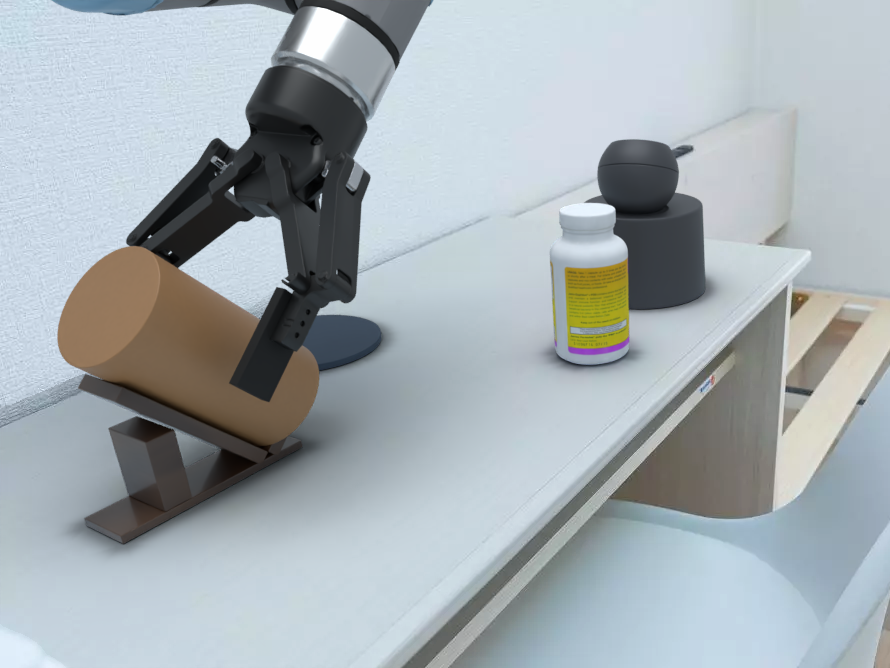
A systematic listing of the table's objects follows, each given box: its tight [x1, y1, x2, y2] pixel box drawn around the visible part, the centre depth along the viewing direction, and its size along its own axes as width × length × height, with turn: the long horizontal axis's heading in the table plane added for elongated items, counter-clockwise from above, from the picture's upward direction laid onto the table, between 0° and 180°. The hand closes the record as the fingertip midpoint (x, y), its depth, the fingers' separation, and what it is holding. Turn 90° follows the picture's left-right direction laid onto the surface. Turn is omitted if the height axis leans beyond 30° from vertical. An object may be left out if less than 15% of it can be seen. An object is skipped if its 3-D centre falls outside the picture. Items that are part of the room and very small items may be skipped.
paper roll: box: [56, 245, 320, 447], centre depth 58 cm, size 8×16×16 cm, turn 148°
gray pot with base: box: [583, 138, 707, 310], centre depth 92 cm, size 13×16×14 cm
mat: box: [302, 314, 383, 371], centre depth 83 cm, size 13×13×1 cm
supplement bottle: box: [549, 202, 630, 366], centre depth 77 cm, size 7×7×13 cm
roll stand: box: [77, 373, 303, 545], centre depth 59 cm, size 4×14×9 cm, turn 148°
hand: (178, 372), depth 57 cm, fingers open, 13 cm apart
